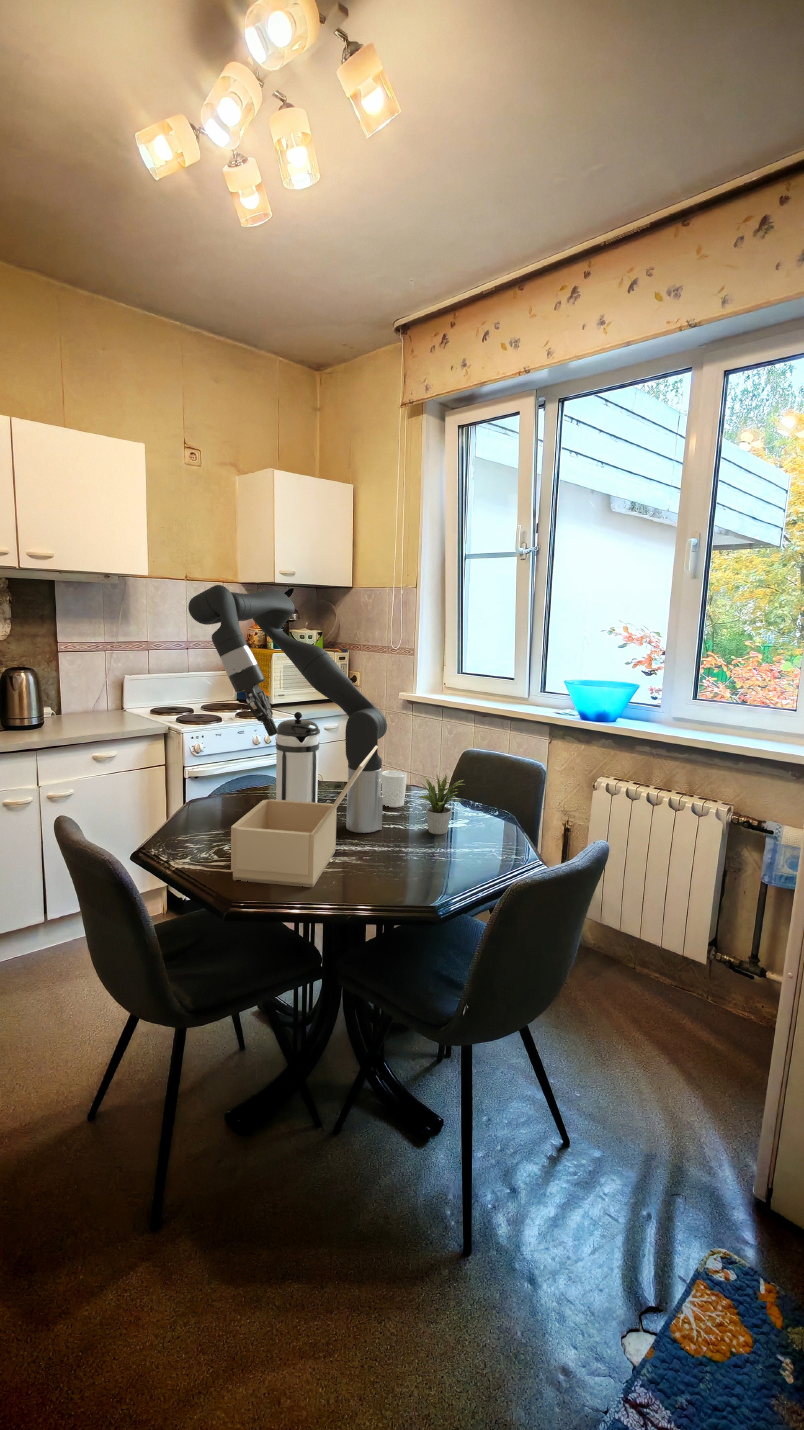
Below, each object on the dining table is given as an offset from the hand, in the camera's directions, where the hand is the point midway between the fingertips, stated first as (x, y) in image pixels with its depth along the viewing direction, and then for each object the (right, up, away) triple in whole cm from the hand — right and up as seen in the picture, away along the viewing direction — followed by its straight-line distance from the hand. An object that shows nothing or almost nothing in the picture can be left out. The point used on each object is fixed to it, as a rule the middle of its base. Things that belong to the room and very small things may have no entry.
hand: (274, 734), depth 156 cm
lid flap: (+18, -11, -8) cm, 23 cm away
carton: (+4, -30, -3) cm, 31 cm away
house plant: (+41, -28, +23) cm, 55 cm away
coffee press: (-1, -24, +37) cm, 45 cm away
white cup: (+28, -24, +48) cm, 60 cm away
